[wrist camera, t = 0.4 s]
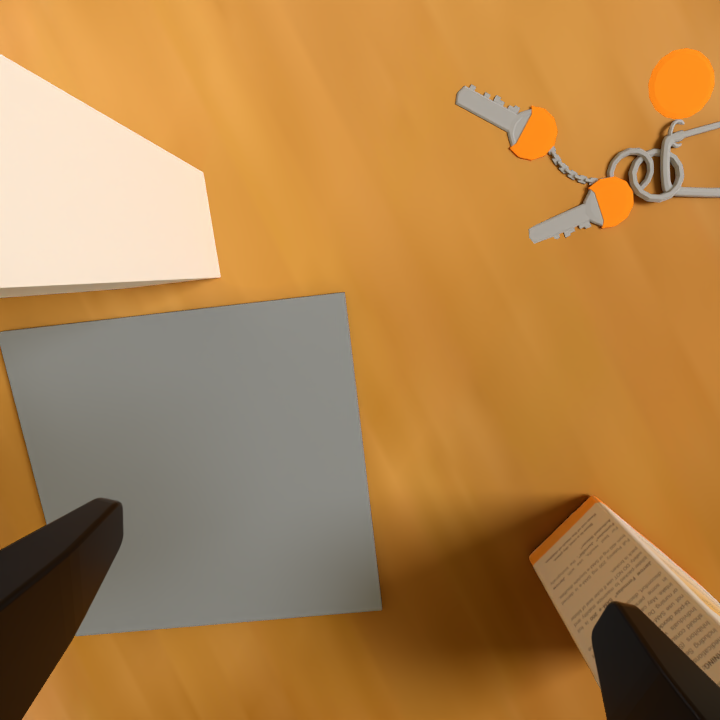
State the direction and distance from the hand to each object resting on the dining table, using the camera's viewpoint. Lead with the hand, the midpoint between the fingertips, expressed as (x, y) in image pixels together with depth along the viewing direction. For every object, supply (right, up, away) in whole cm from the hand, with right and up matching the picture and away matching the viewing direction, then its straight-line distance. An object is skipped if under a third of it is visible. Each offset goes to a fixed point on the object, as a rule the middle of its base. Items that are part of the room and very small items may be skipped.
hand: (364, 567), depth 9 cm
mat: (-8, -2, +14) cm, 17 cm away
